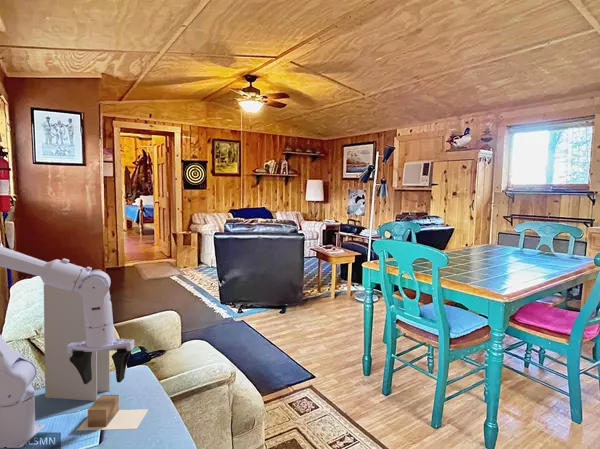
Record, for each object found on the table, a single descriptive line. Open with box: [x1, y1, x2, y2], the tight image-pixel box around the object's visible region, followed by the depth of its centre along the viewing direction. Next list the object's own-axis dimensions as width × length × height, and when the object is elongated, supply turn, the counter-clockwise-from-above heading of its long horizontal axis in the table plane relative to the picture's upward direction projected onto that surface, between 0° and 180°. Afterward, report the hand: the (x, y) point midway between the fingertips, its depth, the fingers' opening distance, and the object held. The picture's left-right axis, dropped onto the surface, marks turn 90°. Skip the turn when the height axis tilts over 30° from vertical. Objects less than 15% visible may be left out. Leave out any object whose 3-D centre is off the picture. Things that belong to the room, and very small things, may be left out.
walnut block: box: [87, 394, 120, 427], centre depth 86 cm, size 7×4×4 cm, turn 4°
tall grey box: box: [43, 283, 111, 402], centre depth 97 cm, size 14×6×30 cm, turn 84°
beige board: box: [76, 408, 149, 431], centre depth 86 cm, size 13×8×1 cm, turn 94°
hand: (104, 381), depth 85 cm, fingers open, 7 cm apart
